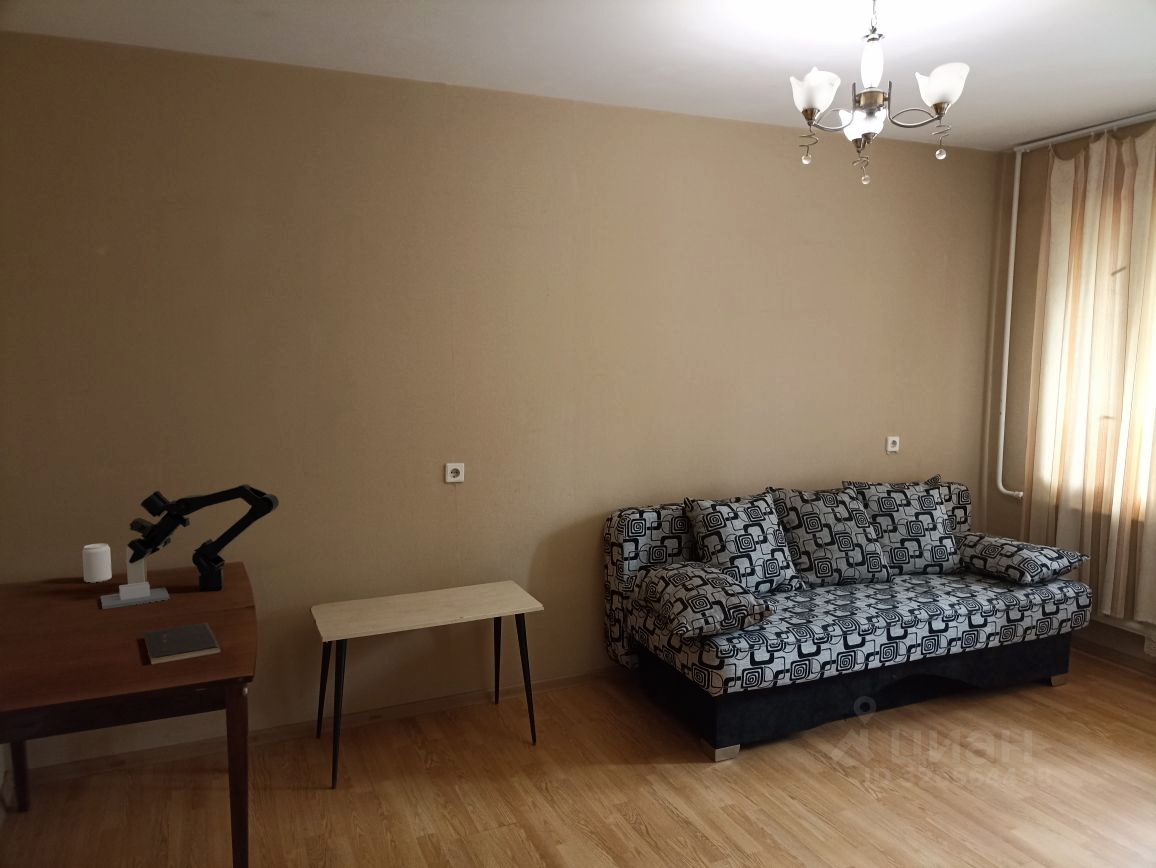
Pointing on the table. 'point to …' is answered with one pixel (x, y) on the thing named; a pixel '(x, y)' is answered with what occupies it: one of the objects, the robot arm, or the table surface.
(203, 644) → the hardcover book
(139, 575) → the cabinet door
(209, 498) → the robot arm
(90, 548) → the beverage can
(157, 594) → the grey base plate
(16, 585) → the table surface
